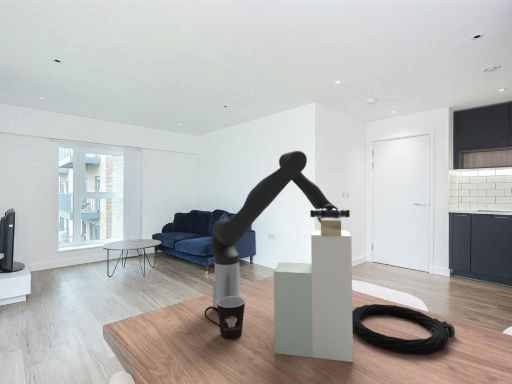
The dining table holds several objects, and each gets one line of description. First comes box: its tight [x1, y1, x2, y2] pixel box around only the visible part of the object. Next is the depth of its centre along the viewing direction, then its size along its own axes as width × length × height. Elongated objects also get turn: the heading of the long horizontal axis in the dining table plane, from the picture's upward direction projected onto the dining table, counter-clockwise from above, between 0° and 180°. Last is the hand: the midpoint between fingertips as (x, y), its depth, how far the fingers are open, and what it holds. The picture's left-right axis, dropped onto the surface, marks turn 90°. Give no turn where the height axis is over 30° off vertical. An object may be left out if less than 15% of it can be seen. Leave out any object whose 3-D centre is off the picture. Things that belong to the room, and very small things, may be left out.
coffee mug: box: [204, 296, 246, 341], centre depth 85 cm, size 12×9×10 cm
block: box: [320, 217, 342, 236], centre depth 80 cm, size 19×5×4 cm, turn 167°
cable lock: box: [352, 303, 456, 355], centre depth 86 cm, size 28×4×30 cm
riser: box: [273, 229, 354, 363], centre depth 77 cm, size 10×20×32 cm, turn 77°
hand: (330, 213), depth 99 cm, fingers open, 8 cm apart
